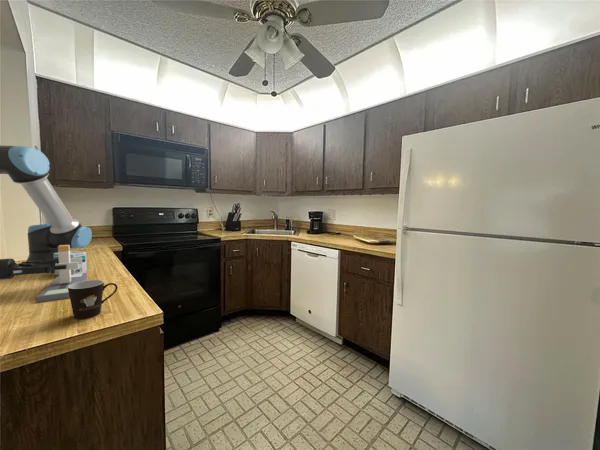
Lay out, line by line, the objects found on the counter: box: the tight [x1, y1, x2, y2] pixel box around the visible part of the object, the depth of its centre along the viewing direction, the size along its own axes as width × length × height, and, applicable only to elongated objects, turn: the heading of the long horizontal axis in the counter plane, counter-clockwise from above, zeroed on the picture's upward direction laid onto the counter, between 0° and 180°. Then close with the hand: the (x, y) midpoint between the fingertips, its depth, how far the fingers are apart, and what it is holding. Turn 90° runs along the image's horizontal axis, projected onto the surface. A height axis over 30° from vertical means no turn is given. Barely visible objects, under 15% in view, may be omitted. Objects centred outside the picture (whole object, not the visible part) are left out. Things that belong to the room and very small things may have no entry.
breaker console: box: [36, 272, 88, 303], centre depth 99 cm, size 28×10×2 cm, turn 35°
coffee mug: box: [68, 279, 118, 320], centre depth 77 cm, size 12×9×10 cm
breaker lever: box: [58, 245, 71, 284], centre depth 98 cm, size 3×3×15 cm
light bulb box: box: [54, 250, 88, 276], centre depth 117 cm, size 11×7×11 cm, turn 84°
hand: (80, 263), depth 101 cm, fingers open, 9 cm apart
